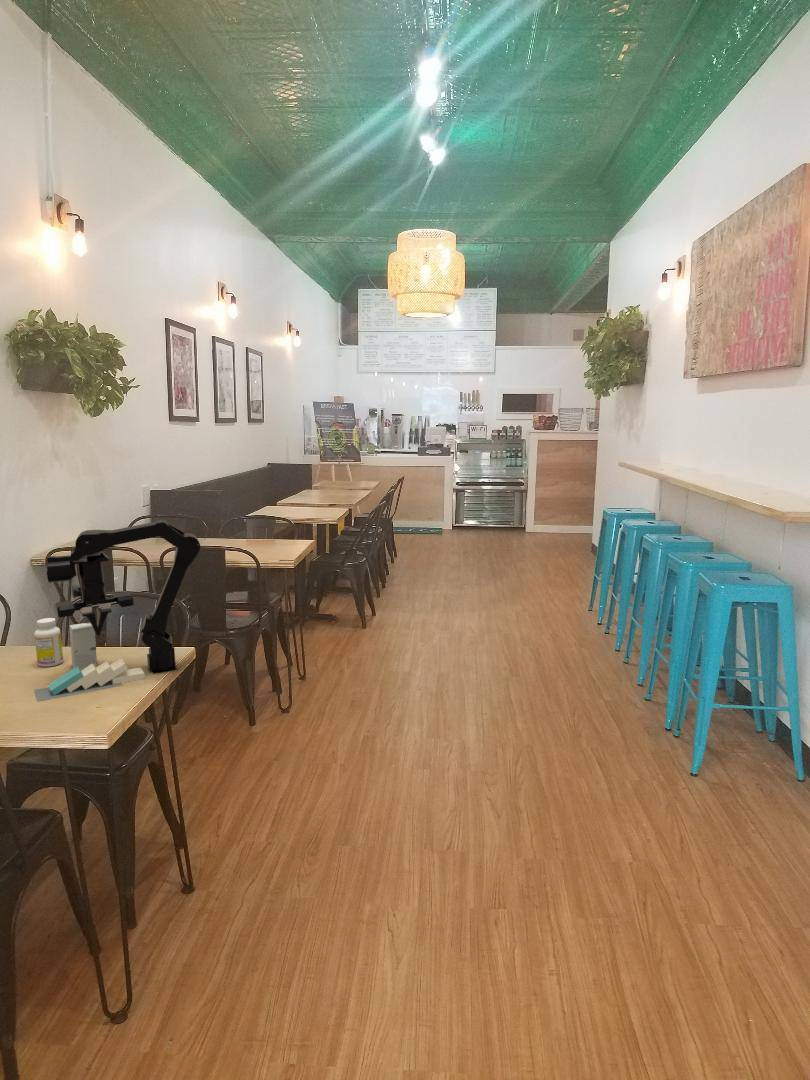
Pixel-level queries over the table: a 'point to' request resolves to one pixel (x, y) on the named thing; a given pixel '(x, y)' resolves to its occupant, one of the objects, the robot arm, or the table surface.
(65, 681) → the teal domino
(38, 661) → the supplement bottle
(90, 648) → the skincare box
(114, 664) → the domino
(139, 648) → the table surface
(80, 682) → the domino
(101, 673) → the domino
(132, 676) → the domino
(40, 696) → the mat
